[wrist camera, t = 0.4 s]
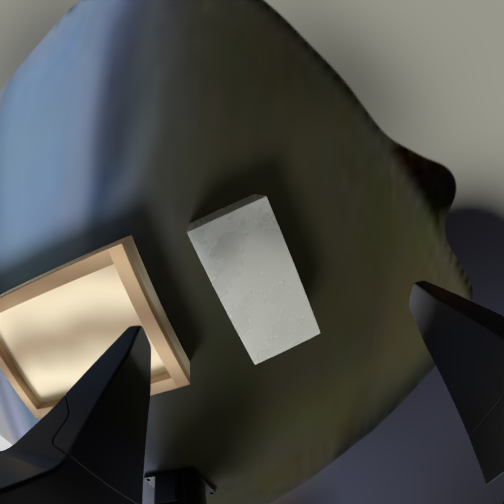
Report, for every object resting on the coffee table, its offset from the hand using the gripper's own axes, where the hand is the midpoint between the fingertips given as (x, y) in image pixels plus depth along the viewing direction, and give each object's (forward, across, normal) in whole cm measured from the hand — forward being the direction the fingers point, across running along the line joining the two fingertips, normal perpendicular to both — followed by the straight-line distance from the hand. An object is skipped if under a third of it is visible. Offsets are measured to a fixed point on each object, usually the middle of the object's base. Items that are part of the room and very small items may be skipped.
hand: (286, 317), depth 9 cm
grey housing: (+12, 0, +6) cm, 13 cm away
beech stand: (+10, +15, +8) cm, 20 cm away
